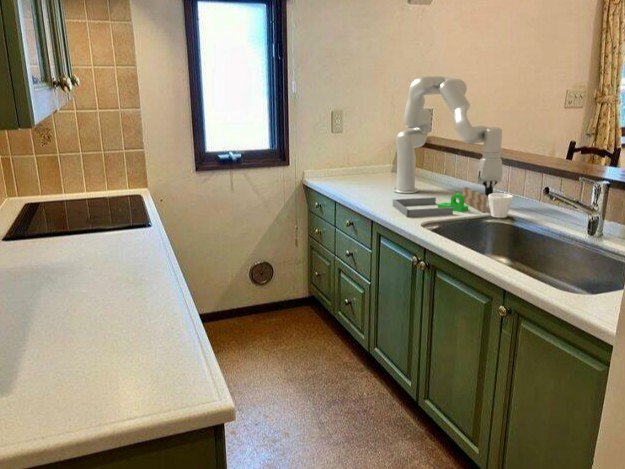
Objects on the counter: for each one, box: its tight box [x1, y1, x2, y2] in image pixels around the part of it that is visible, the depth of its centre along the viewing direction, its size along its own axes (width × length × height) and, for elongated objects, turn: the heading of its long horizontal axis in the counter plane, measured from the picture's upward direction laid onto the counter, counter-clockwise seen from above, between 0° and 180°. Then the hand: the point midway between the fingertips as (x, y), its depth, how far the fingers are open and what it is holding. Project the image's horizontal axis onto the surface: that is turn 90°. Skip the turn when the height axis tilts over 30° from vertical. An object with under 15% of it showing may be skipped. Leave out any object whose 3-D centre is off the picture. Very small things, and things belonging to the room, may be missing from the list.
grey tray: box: [392, 196, 454, 218], centre depth 238 cm, size 21×21×3 cm
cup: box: [487, 192, 514, 219], centre depth 223 cm, size 10×10×9 cm
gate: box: [462, 186, 488, 213], centre depth 241 cm, size 21×2×7 cm, turn 9°
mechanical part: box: [437, 193, 469, 213], centre depth 238 cm, size 12×6×8 cm, turn 45°
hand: (488, 195), depth 241 cm, fingers closed
